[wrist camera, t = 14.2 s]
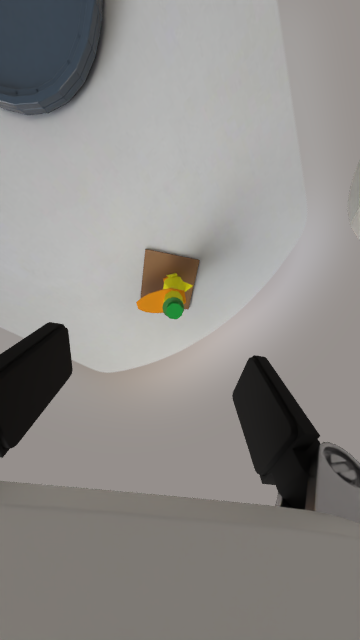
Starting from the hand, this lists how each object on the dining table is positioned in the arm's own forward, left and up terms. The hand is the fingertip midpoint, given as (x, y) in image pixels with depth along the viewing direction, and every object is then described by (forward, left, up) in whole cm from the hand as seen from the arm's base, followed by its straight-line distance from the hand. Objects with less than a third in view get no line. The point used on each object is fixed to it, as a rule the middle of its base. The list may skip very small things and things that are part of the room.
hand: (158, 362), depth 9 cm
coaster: (0, 0, -20) cm, 20 cm away
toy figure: (0, 0, -20) cm, 20 cm away
